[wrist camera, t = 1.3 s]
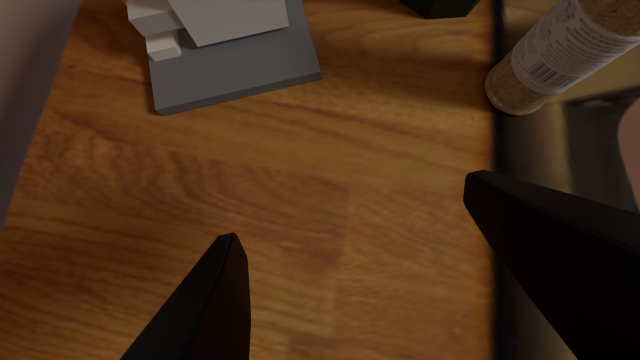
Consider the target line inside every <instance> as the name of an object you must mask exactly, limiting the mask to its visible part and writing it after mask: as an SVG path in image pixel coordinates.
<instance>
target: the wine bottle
mask: <svg viewBox="0 0 640 360" xmlns="http://www.w3.org/2000/svg"><path fill="white" fill-rule="evenodd" d="M399 1H401V2H402V3H404V4H405V5H407V6H408V7H410V8H411V9H413V10H414V11H415V12H417V13H418V14H420V15H421V16H423V17H424V18H426V19H437V18H452V17H466V16H467V15H468V14H469V12H470V11H471V10H472V9H473V8H474V7H475V6H476V5H477V4H478V2H479V1H480V0H399Z"/></svg>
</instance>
